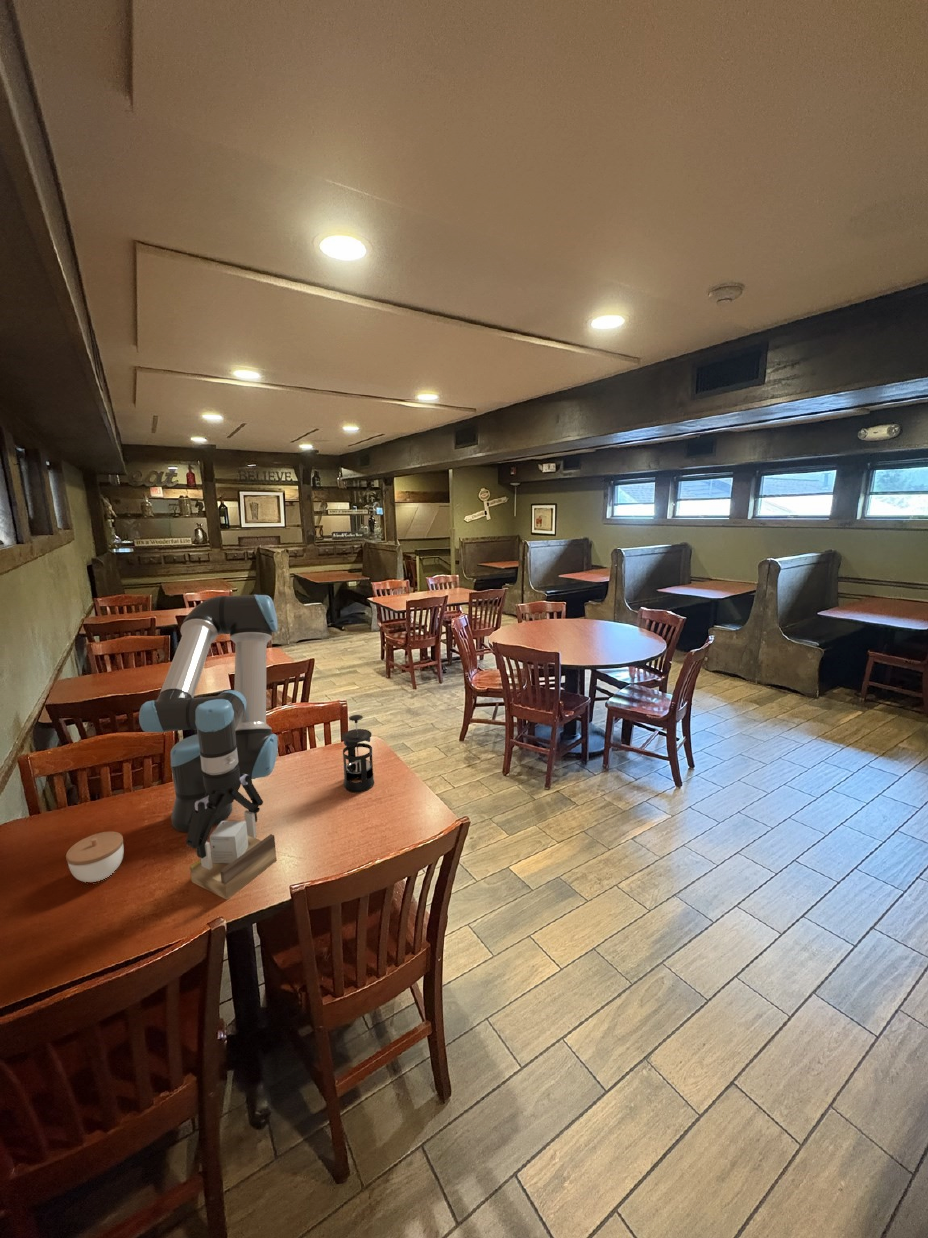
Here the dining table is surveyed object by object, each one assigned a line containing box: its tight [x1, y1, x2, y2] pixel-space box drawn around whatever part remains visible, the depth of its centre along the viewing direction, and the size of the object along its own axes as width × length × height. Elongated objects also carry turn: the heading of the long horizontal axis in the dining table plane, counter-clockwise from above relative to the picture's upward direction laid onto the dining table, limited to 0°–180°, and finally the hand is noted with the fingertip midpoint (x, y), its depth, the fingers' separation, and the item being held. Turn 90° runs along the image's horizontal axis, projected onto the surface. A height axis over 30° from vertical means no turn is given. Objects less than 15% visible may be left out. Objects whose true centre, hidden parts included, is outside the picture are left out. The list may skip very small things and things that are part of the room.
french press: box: [341, 714, 375, 794], centre depth 152 cm, size 12×9×23 cm
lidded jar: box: [65, 831, 125, 883], centre depth 115 cm, size 11×11×9 cm
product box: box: [208, 820, 248, 863], centre depth 115 cm, size 6×6×7 cm
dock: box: [189, 833, 277, 901], centre depth 116 cm, size 12×14×7 cm
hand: (230, 850), depth 116 cm, fingers open, 11 cm apart
